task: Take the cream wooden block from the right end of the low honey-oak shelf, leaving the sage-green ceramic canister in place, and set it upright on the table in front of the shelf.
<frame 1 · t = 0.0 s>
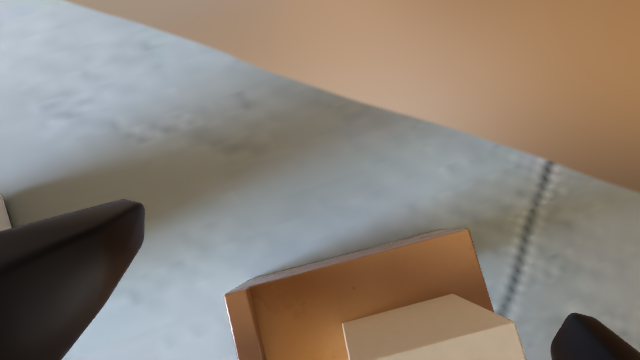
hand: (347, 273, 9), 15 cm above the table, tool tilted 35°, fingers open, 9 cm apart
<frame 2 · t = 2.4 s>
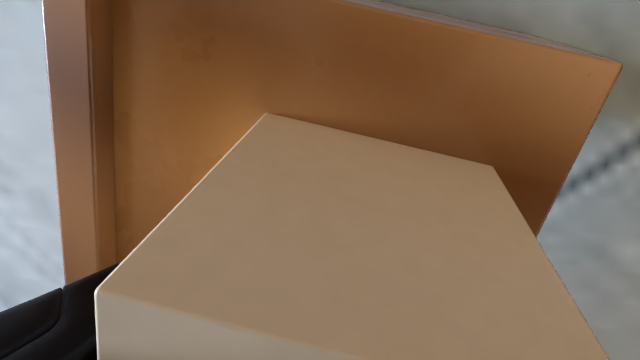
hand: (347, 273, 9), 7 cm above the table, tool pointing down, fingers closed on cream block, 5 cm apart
shelf: (296, 262, 17), on the table
cream block: (351, 234, 10), point 5 cm above the table, touching gripper, shelf
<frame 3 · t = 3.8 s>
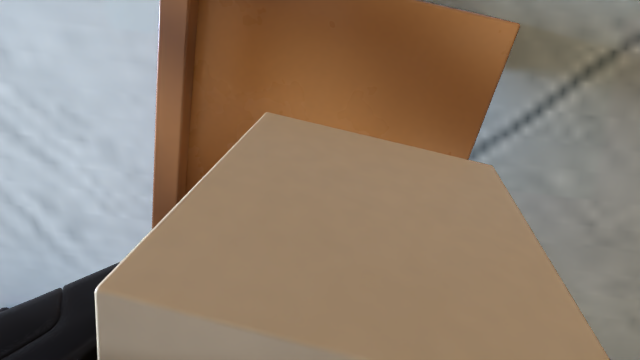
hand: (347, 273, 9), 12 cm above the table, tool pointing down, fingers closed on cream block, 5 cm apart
shelf: (309, 194, 22), on the table
cream block: (351, 233, 10), point 10 cm above the table, touching gripper
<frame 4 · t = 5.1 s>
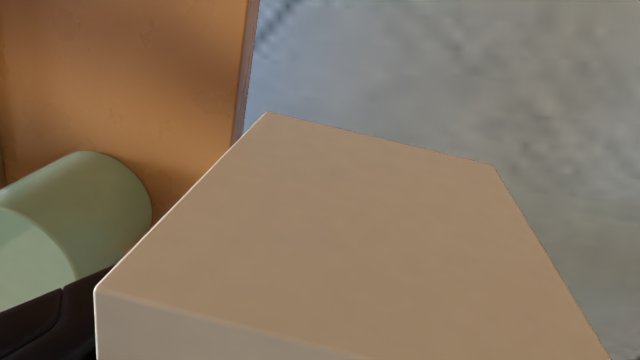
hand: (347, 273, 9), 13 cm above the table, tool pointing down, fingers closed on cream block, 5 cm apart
shelf: (162, 27, 20), on the table
cream block: (351, 233, 10), point 11 cm above the table, touching gripper
ceramic canister: (101, 201, 19), point 5 cm above the table, touching shelf
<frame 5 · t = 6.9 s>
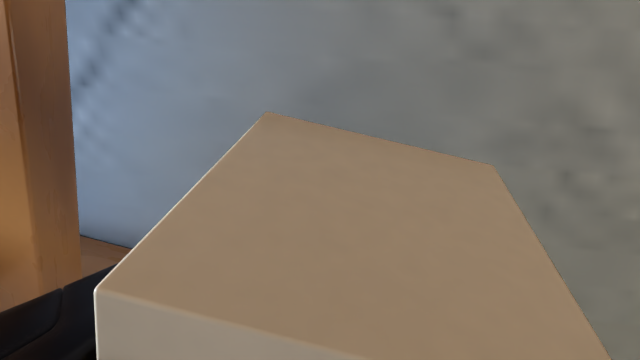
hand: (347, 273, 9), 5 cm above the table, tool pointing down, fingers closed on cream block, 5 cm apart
cream block: (352, 233, 10), point 3 cm above the table, touching gripper
when the fingers open (2 cm above the table, at t = 8.2 s): cream block stays where it is, on the table.
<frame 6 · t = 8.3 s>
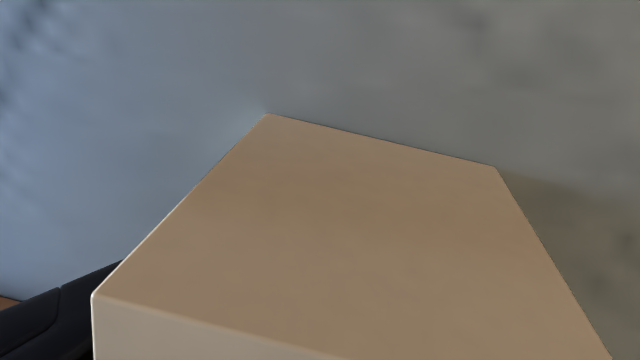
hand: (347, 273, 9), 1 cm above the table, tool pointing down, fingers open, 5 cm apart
cream block: (352, 235, 10), on the table
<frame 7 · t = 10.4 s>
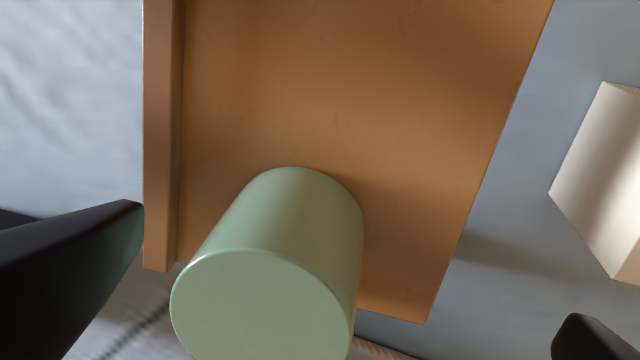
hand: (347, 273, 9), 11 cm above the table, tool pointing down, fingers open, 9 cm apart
shelf: (352, 13, 16), on the table
cream block: (635, 154, 17), on the table
ceramic canister: (298, 226, 15), point 5 cm above the table, touching shelf
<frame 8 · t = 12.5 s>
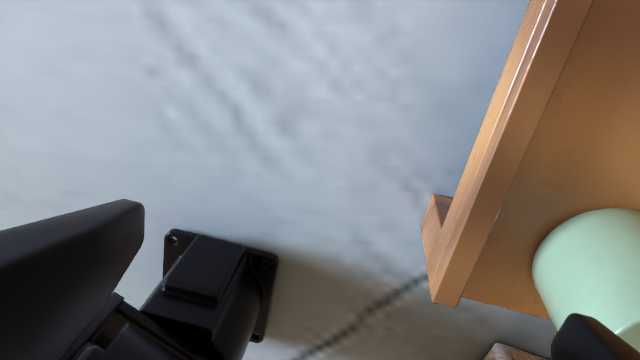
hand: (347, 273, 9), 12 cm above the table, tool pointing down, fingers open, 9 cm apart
shelf: (627, 54, 17), on the table
ceramic canister: (600, 264, 15), point 5 cm above the table, touching shelf
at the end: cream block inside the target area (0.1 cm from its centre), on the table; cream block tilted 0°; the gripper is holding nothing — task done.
